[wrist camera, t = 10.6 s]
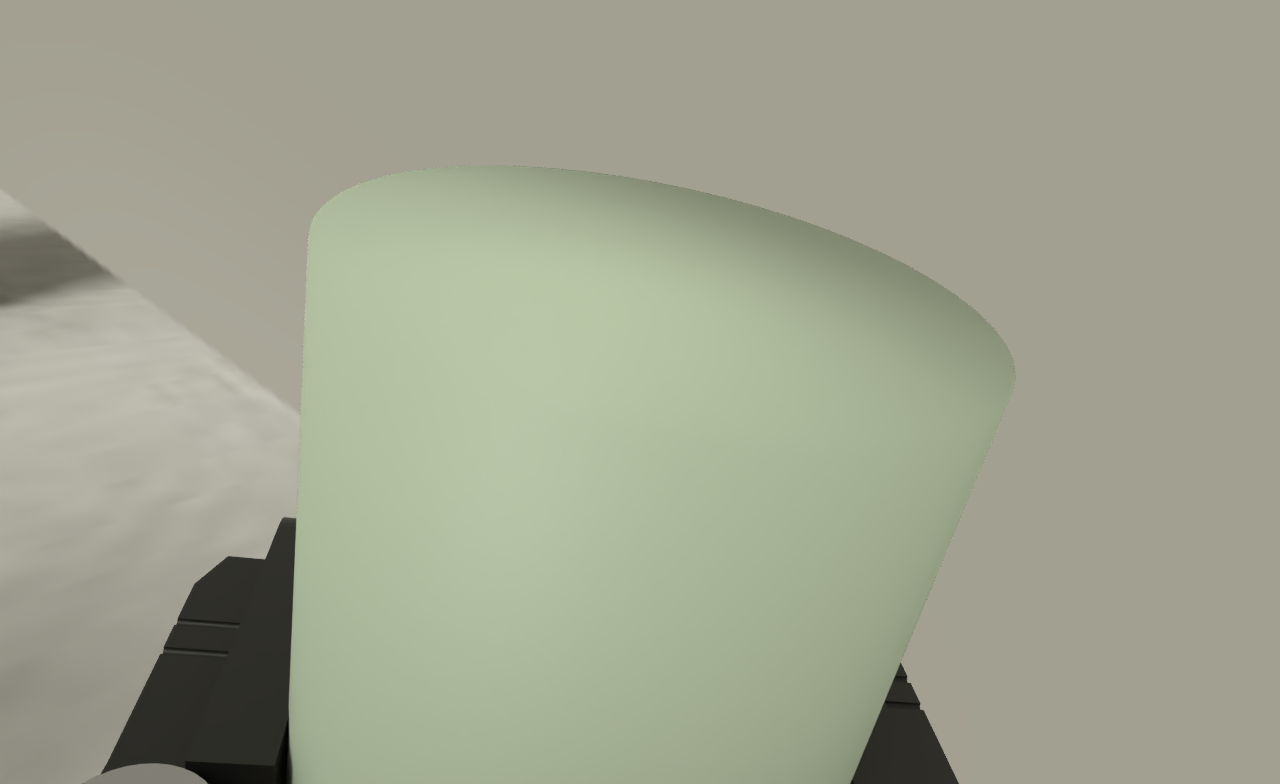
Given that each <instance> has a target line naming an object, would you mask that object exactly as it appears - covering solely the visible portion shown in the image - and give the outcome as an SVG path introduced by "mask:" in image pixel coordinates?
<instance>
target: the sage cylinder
mask: <svg viewBox="0 0 1280 784" xmlns="http://www.w3.org/2000/svg"><path fill="white" fill-rule="evenodd" d="M304 326H305V327H304V349H303V373H302V398H301V421H300V445H299V469H298V493H297V517H296V541H295V565H294V589H293V613H292V637H291V661H290V685H289V725H288V749H287V772H286V784H850V783H851V781H852V778H853V776H854V774H855V771H856V769H857V766H858V764H859V762H860V759H861V757H862V754H863V752H864V749H865V747H866V745H867V742H868V740H869V737H870V735H871V733H872V730H873V728H874V725H875V723H876V721H877V718H878V716H879V713H880V711H881V708H882V706H883V704H884V701H885V699H886V696H887V694H888V692H889V689H890V687H891V684H892V682H893V679H894V677H895V675H896V672H897V670H898V667H899V665H900V663H901V660H902V658H903V655H904V653H905V651H906V648H907V646H908V643H909V641H910V638H911V636H912V634H913V631H914V629H915V626H916V624H917V621H918V619H919V616H920V614H921V612H922V609H923V607H924V605H925V602H926V600H927V597H928V595H929V593H930V590H931V588H932V585H933V583H934V581H935V578H936V575H937V573H938V571H939V568H940V566H941V564H942V561H943V559H944V556H945V554H946V552H947V549H948V547H949V544H950V542H951V539H952V537H953V534H954V532H955V530H956V527H957V525H958V522H959V520H960V518H961V515H962V513H963V511H964V508H965V506H966V503H967V501H968V498H969V496H970V494H971V491H972V489H973V486H974V484H975V481H976V479H977V477H978V474H979V472H980V469H981V467H982V465H983V462H984V460H985V457H986V455H987V453H988V450H989V448H990V445H991V443H992V440H993V438H994V436H995V433H996V430H997V428H998V426H999V424H1000V421H1001V419H1002V416H1003V414H1004V412H1005V409H1006V407H1007V404H1008V402H1009V399H1010V397H1011V395H1012V391H1013V388H1014V383H1015V380H1016V375H1015V366H1014V360H1013V358H1012V356H1011V354H1010V352H1009V350H1008V348H1007V345H1006V344H1005V342H1004V341H1003V340H1002V338H1001V337H1000V336H999V334H998V333H997V332H996V331H995V329H994V328H993V327H992V326H991V325H990V324H989V323H988V322H987V321H986V320H985V319H984V318H983V317H982V316H981V315H980V314H979V313H978V312H977V311H976V310H974V309H973V308H972V307H970V306H969V305H968V304H967V303H965V302H964V301H962V300H961V299H960V298H959V297H958V296H956V295H955V294H953V293H952V292H950V291H949V290H947V289H946V288H944V287H943V286H941V285H940V284H938V283H937V282H935V281H934V280H932V279H930V278H929V277H927V276H925V275H923V274H921V273H920V272H918V271H916V270H914V269H913V268H911V267H909V266H907V265H905V264H903V263H901V262H899V261H897V260H895V259H893V258H891V257H889V256H887V255H885V254H883V253H881V252H879V251H877V250H874V249H872V248H870V247H868V246H865V245H863V244H861V243H859V242H856V241H854V240H852V239H849V238H847V237H844V236H842V235H839V234H836V233H834V232H831V231H829V230H826V229H824V228H821V227H818V226H816V225H812V224H810V223H807V222H804V221H801V220H798V219H795V218H792V217H790V216H786V215H783V214H780V213H777V212H773V211H770V210H767V209H764V208H760V207H757V206H754V205H750V204H747V203H743V202H739V201H736V200H732V199H728V198H725V197H720V196H716V195H712V194H708V193H704V192H700V191H695V190H691V189H686V188H682V187H677V186H672V185H667V184H662V183H657V182H651V181H646V180H640V179H634V178H629V177H622V176H615V175H608V174H601V173H594V172H585V171H576V170H567V169H556V168H542V167H527V166H458V167H443V168H431V169H423V170H416V171H408V172H403V173H398V174H393V175H389V176H384V177H380V178H377V179H374V180H370V181H367V182H364V183H361V184H358V185H356V186H354V187H352V188H350V189H348V190H345V191H343V192H341V193H339V194H338V195H336V196H335V197H334V198H332V199H331V200H330V201H328V202H327V203H325V204H324V205H323V206H322V207H321V209H320V210H319V212H318V213H317V214H316V215H315V217H314V218H313V220H312V223H311V227H310V231H309V234H308V253H307V277H306V301H305V325H304Z"/></svg>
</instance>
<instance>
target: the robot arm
mask: <svg viewBox="0 0 1280 784" xmlns="http://www.w3.org/2000/svg"><path fill="white" fill-rule="evenodd" d="M295 541H296V518H286V517H284V518H283V519H282V520H281V522H280V524H279V527H278V529H277V532H276V534H275V537H274V539H273V542H272V544H271V547H270V549H269V552H268V554H267V557H266V559H265V560H264V559H253V558H242V557H231V556H228V557H227V558H225V559H224V560H223V561H222V562H221V563H219V564H218V565H217V566H216V567H214V568H213V569H212V570H211V571H210V572H208V573H207V574H206V575H205V576H204V577H202V578H201V579H200V580H199V581H197V582H196V583H195V584H194V586H193V588H192V590H191V592H190V594H189V596H188V598H187V600H186V602H185V604H184V607H183V609H182V611H181V613H180V615H179V617H178V622H177V625H174V627H173V629H172V631H171V633H170V635H169V637H168V639H167V641H166V643H165V646H164V651H163V654H160V656H159V658H158V660H157V662H156V664H155V666H154V668H153V670H152V672H151V674H150V676H149V678H148V680H147V682H146V685H145V687H144V689H143V691H142V693H141V695H140V697H139V699H138V701H137V703H136V705H135V707H134V709H133V711H132V713H131V715H130V717H129V719H128V721H127V724H126V726H125V728H124V730H123V732H122V734H121V736H120V738H119V740H118V742H117V744H116V746H115V748H114V750H113V752H112V754H111V756H110V758H109V760H108V763H107V764H106V766H105V768H104V769H103V771H102V773H101V774H100V775H98V776H96V777H94V778H92V779H90V780H88V781H87V782H85V783H83V784H286V772H287V749H288V725H289V685H290V661H291V637H292V613H293V589H294V565H295ZM850 784H959V783H958V781H957V779H956V777H955V775H954V773H953V771H952V769H951V767H950V765H949V762H948V760H947V758H946V756H945V754H944V752H943V750H942V748H941V746H940V744H939V742H938V739H937V737H936V735H935V733H934V731H933V729H932V727H931V725H930V723H929V721H928V719H927V716H926V715H925V712H924V711H923V710H920V702H919V700H918V698H917V696H916V693H915V691H914V689H913V687H912V685H911V683H907V675H906V673H905V671H904V668H903V666H902V664H901V663H900V665H899V667H898V670H897V672H896V675H895V677H894V679H893V682H892V684H891V687H890V689H889V692H888V694H887V696H886V699H885V701H884V704H883V706H882V708H881V711H880V713H879V716H878V718H877V721H876V723H875V725H874V728H873V730H872V733H871V735H870V737H869V740H868V742H867V745H866V747H865V749H864V752H863V754H862V757H861V759H860V762H859V764H858V766H857V769H856V771H855V774H854V776H853V778H852V781H851V783H850Z"/></svg>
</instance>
